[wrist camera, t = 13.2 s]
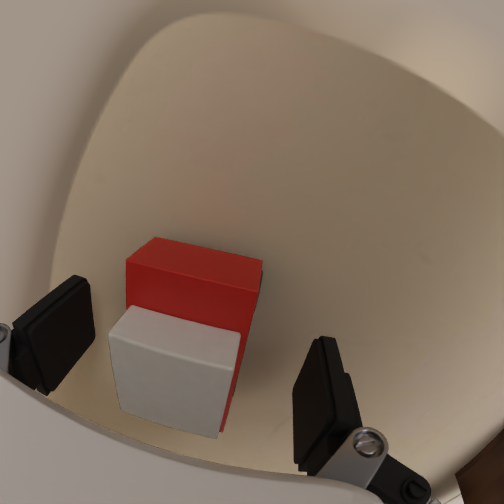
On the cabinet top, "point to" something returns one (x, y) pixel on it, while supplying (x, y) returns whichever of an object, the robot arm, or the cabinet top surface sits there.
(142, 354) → the small toy car
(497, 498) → the chest
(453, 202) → the cabinet top surface
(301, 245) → the cabinet top surface
